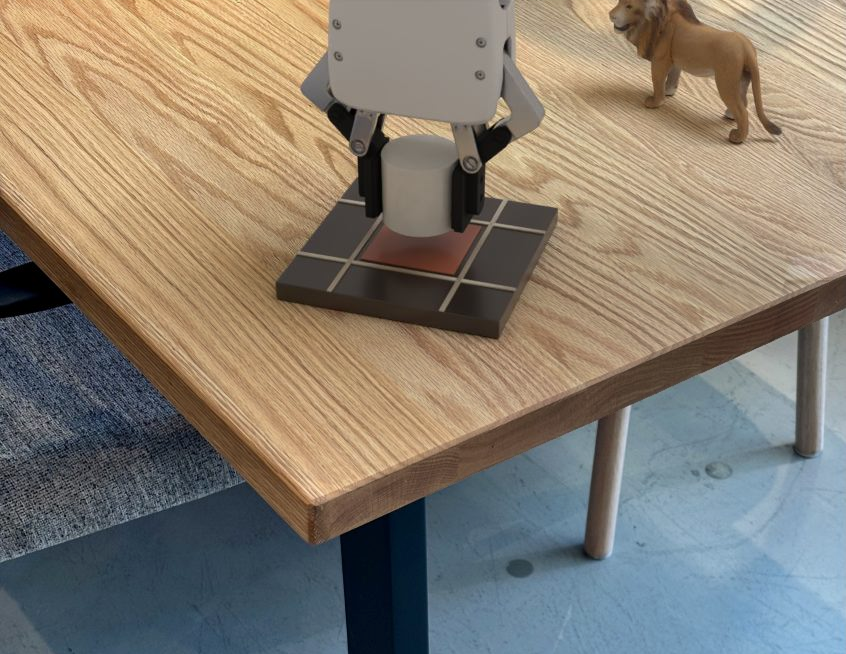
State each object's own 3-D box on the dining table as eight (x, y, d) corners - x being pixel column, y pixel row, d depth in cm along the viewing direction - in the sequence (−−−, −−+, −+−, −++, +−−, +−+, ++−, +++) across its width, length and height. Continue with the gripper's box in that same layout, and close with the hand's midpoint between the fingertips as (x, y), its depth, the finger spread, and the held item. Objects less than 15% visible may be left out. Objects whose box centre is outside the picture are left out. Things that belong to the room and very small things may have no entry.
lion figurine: (591, 98, 101) (600, -22, 95) (629, 75, 104) (641, -43, 98) (762, 154, 94) (784, 28, 88) (798, 128, 97) (822, 4, 91)
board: (557, 223, 87) (558, 206, 86) (498, 339, 77) (499, 320, 76) (357, 192, 90) (356, 175, 89) (276, 299, 80) (274, 280, 79)
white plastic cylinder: (470, 205, 83) (471, 139, 80) (446, 243, 79) (447, 175, 76) (397, 194, 84) (396, 128, 81) (371, 230, 80) (369, 164, 78)
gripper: (594, -103, 70) (570, 207, 82) (296, -133, 74) (315, 167, 86) (560, -57, 65) (540, 268, 77) (241, -91, 69) (269, 223, 81)
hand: (421, 212), depth 81 cm, fingers closed on white plastic cylinder, 4 cm apart
